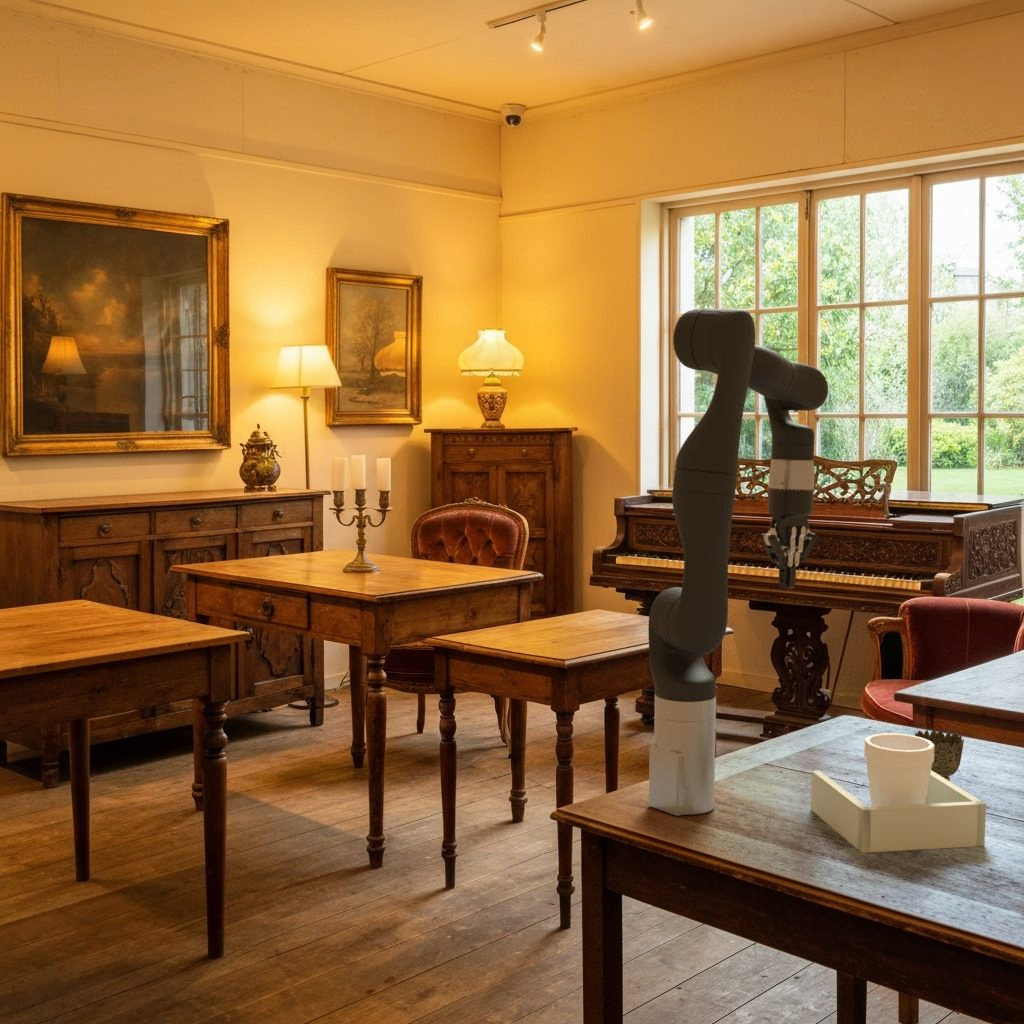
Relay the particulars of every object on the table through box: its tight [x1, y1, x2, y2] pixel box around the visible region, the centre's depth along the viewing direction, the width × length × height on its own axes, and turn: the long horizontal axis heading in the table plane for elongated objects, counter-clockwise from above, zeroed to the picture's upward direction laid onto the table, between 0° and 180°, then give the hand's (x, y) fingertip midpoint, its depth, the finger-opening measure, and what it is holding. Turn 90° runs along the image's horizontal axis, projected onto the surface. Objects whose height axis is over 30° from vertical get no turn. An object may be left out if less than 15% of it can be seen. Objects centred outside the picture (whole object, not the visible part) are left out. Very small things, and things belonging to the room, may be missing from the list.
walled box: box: [810, 770, 987, 854], centre depth 178 cm, size 18×18×6 cm
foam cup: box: [864, 732, 934, 807], centre depth 176 cm, size 10×9×13 cm
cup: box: [914, 729, 965, 782], centre depth 198 cm, size 8×7×8 cm
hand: (787, 588), depth 209 cm, fingers closed
